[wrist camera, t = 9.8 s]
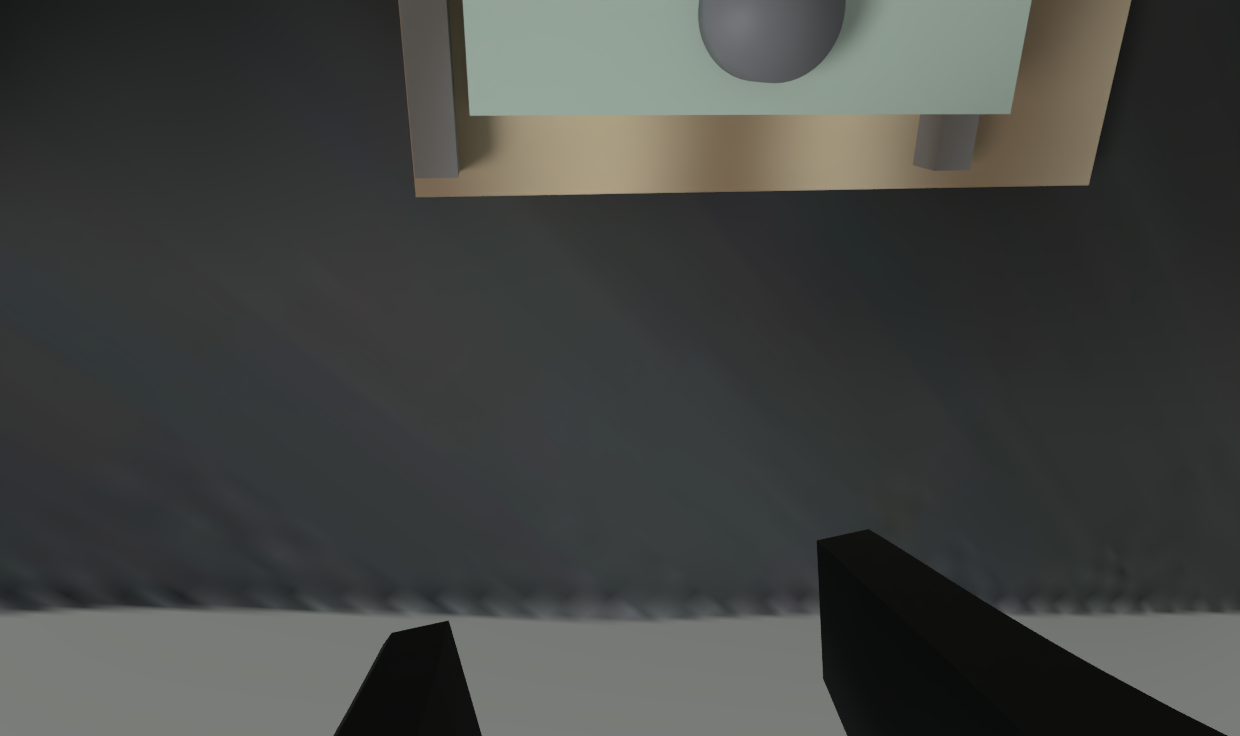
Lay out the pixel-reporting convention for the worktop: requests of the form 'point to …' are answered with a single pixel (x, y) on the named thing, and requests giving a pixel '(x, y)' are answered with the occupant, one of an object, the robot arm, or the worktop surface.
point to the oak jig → (765, 127)
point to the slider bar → (742, 56)
